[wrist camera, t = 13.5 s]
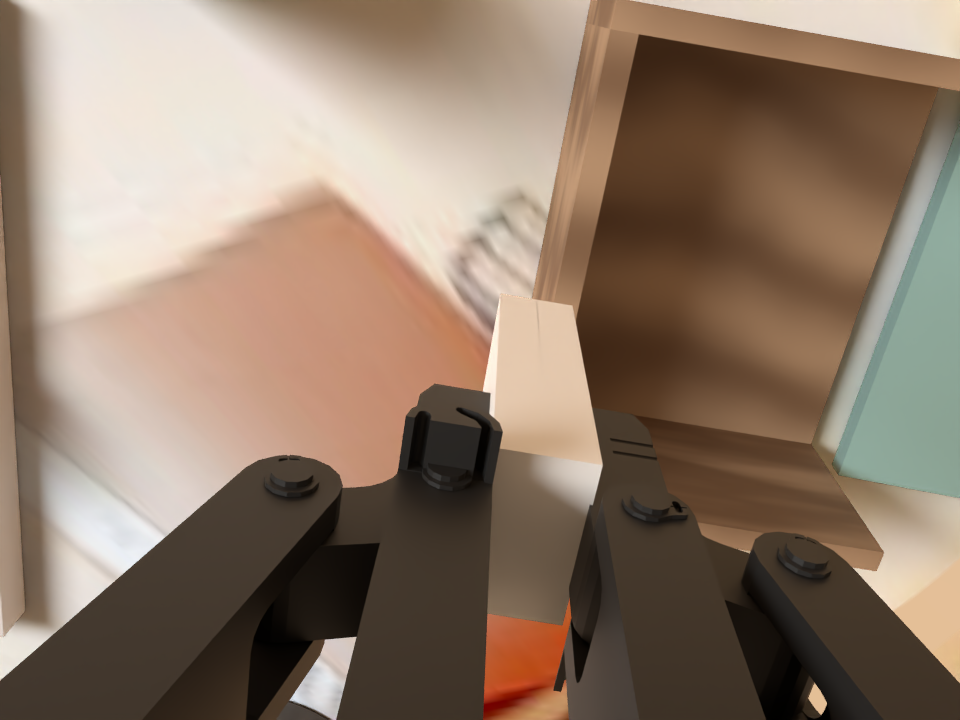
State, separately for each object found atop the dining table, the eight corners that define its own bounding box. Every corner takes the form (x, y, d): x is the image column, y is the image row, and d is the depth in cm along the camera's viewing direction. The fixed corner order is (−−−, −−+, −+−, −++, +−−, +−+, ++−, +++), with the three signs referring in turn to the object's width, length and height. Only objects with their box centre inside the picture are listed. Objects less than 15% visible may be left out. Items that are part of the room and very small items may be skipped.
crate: (799, 451, 48) (876, 571, 38) (511, 403, 47) (510, 512, 37) (937, 61, 40) (1082, 81, 30) (590, 0, 39) (617, -2, 29)
